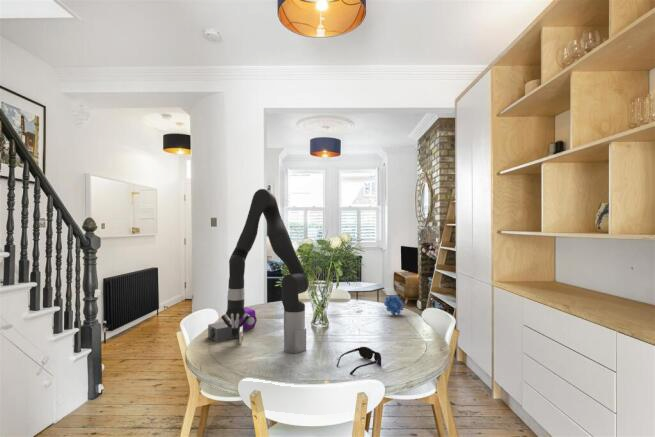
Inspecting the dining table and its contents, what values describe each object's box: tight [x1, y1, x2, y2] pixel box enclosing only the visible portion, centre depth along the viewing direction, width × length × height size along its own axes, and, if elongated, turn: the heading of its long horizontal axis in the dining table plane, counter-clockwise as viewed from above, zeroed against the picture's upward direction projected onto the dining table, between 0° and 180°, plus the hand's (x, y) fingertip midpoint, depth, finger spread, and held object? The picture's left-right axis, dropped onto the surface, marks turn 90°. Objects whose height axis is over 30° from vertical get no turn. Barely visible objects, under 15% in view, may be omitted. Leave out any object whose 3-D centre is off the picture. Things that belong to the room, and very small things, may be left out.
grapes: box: [383, 294, 404, 315], centre depth 209 cm, size 12×7×12 cm, turn 89°
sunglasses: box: [336, 346, 382, 375], centre depth 135 cm, size 14×16×5 cm
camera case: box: [207, 319, 240, 343], centre depth 169 cm, size 10×13×7 cm
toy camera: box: [235, 306, 257, 330], centre depth 184 cm, size 11×14×10 cm
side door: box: [238, 325, 244, 345], centre depth 164 cm, size 2×12×5 cm, turn 11°
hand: (235, 335), depth 160 cm, fingers closed
